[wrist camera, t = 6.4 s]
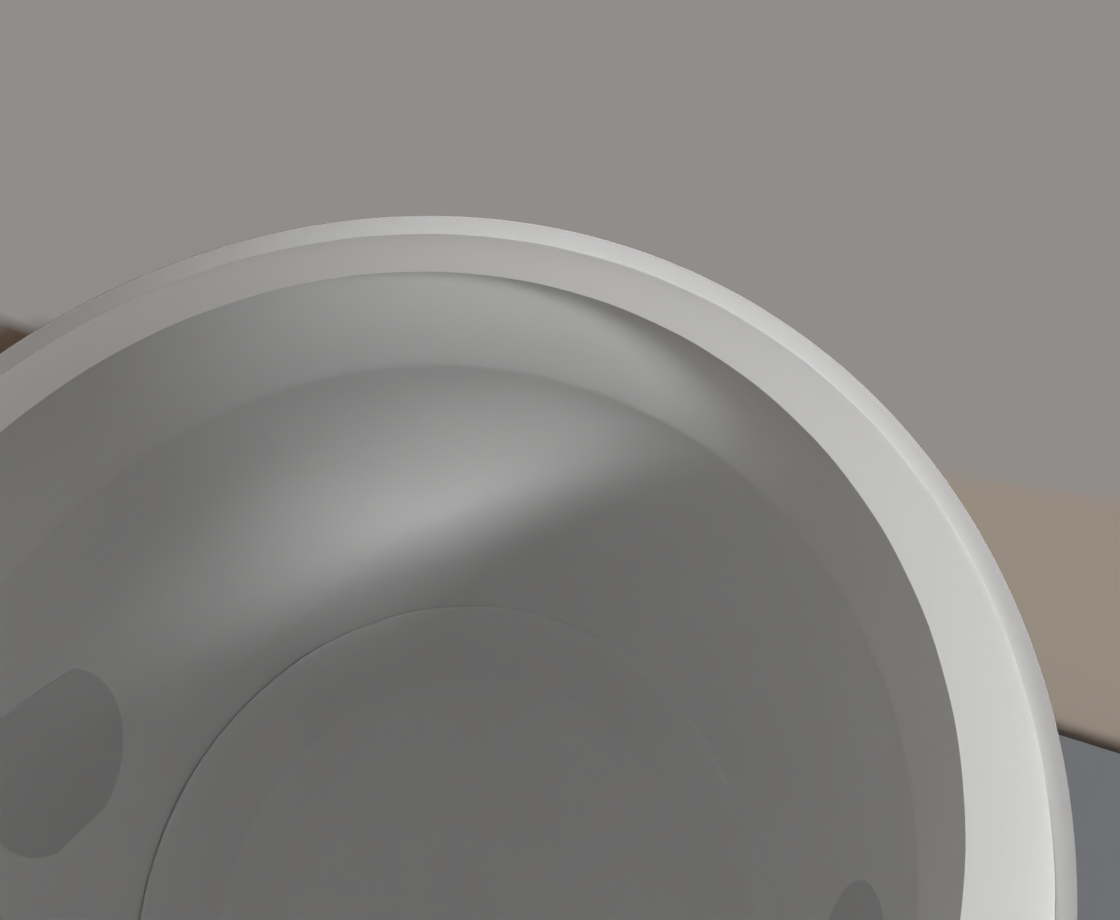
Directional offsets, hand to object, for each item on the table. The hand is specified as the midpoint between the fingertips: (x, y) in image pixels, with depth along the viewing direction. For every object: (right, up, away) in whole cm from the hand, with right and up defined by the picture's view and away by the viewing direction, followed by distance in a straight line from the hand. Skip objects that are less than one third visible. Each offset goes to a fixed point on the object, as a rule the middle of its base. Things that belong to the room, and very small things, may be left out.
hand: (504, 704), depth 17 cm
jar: (-1, -6, +4) cm, 7 cm away
